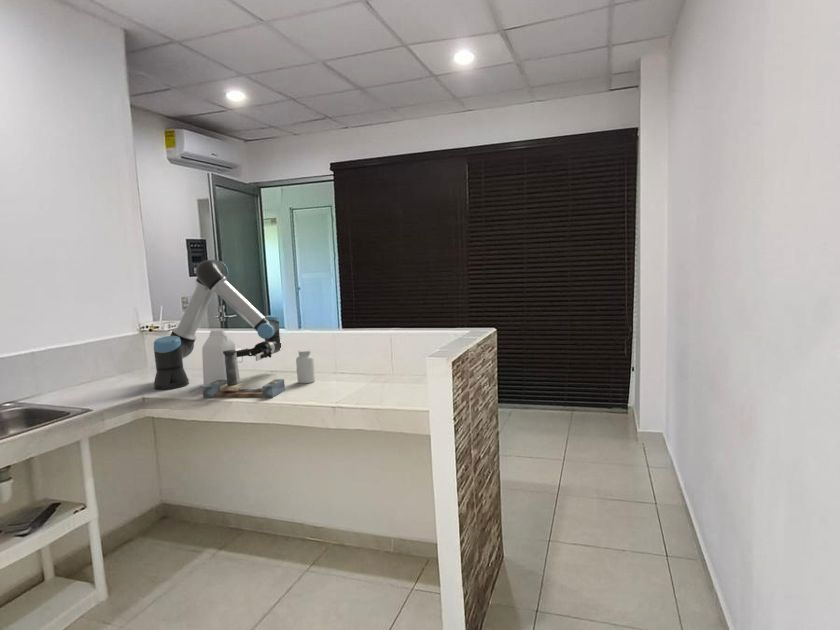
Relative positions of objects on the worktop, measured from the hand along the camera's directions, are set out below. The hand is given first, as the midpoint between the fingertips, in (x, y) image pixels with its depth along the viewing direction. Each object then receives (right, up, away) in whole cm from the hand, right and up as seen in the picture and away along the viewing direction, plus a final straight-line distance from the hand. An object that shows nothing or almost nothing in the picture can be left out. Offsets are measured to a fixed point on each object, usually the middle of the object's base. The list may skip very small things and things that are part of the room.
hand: (242, 357), depth 231 cm
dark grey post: (-1, -13, -8) cm, 16 cm away
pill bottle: (+27, -12, +8) cm, 31 cm away
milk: (-14, -14, +13) cm, 24 cm away
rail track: (+4, -15, -9) cm, 18 cm away
